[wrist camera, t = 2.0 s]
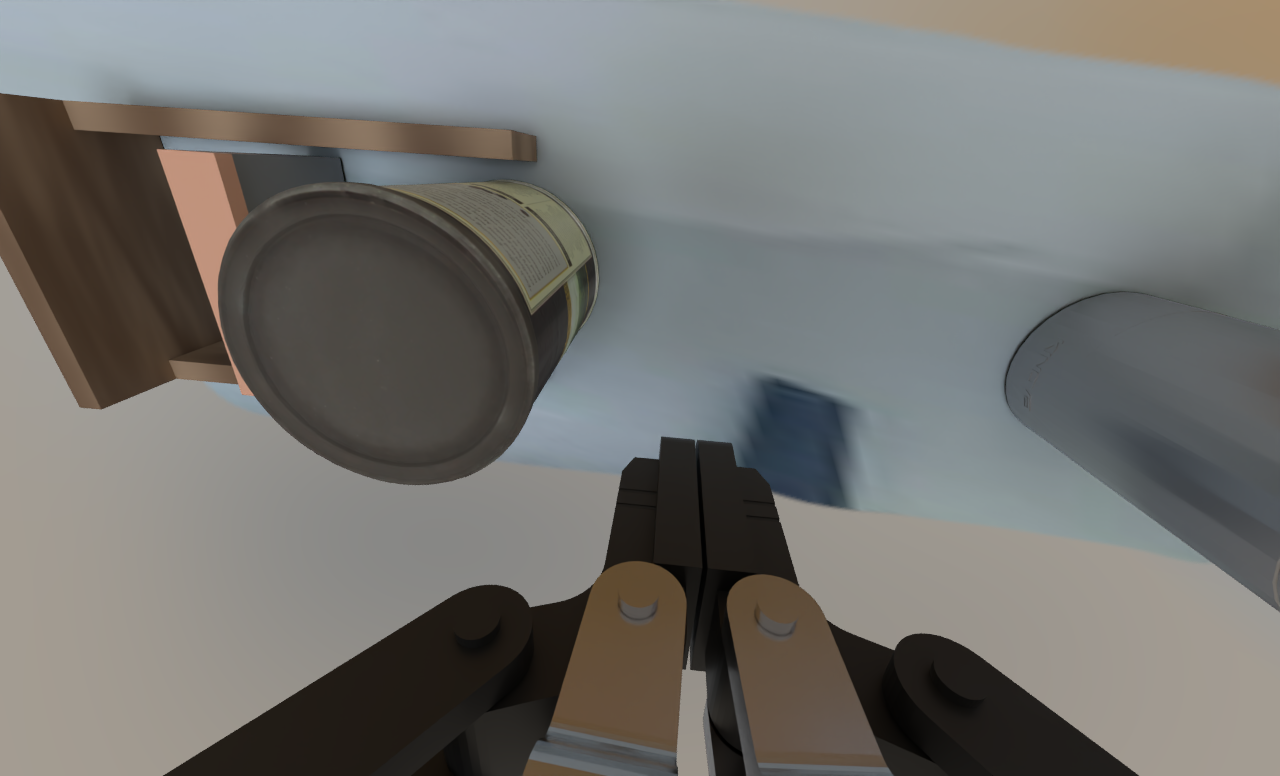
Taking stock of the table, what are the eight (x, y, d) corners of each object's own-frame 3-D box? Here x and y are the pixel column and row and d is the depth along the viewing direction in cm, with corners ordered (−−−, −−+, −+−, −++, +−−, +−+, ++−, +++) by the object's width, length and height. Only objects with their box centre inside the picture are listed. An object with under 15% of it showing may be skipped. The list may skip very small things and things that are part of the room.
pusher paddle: (343, 158, 25) (213, 153, 18) (379, 345, 30) (287, 399, 23) (301, 155, 25) (156, 149, 18) (344, 342, 30) (242, 394, 23)
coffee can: (620, 334, 29) (573, 464, 16) (470, 365, 30) (320, 504, 18) (572, 155, 25) (457, 137, 12) (402, 202, 26) (142, 230, 14)
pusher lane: (536, 136, 24) (475, 121, 17) (543, 382, 30) (501, 448, 23) (129, 109, 25) (-90, 84, 18) (217, 353, 31) (79, 407, 24)
